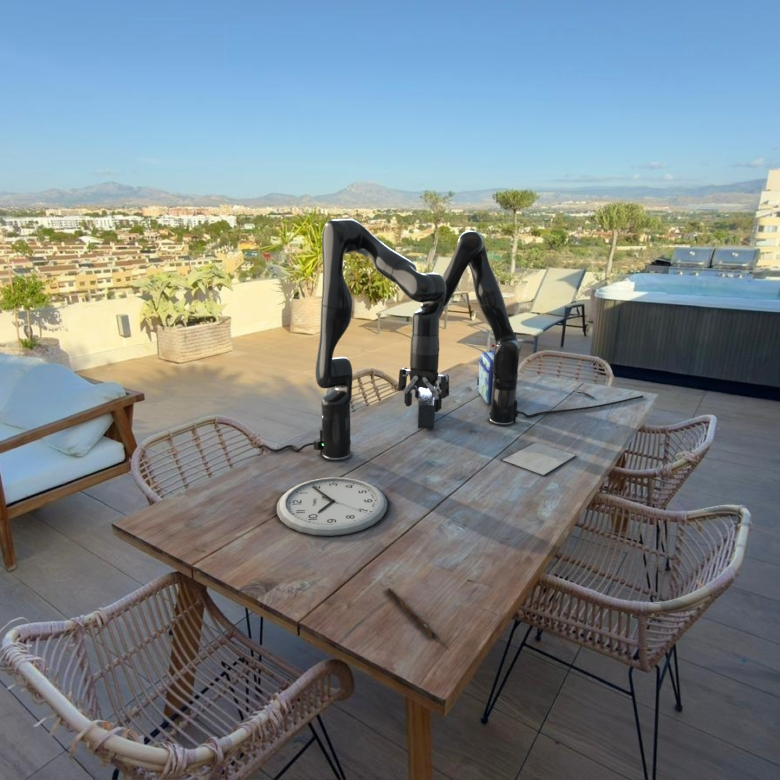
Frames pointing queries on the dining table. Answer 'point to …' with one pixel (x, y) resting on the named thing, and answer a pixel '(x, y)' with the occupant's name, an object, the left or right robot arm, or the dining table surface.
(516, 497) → the dining table surface
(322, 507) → the wall clock
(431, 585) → the dining table surface
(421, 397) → the bar
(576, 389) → the fork
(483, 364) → the lunch box
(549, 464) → the invitation card
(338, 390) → the left robot arm
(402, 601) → the dark brown stick
